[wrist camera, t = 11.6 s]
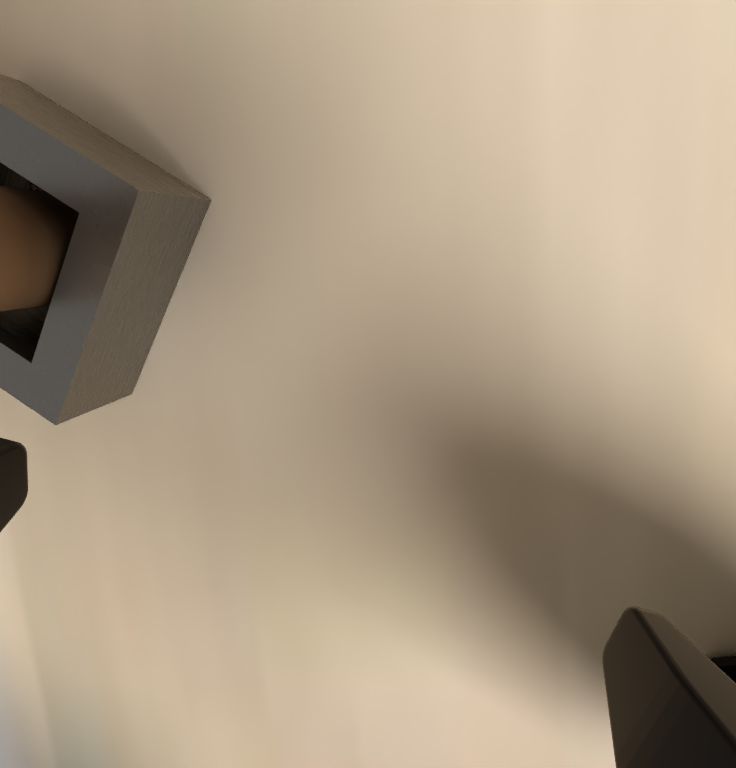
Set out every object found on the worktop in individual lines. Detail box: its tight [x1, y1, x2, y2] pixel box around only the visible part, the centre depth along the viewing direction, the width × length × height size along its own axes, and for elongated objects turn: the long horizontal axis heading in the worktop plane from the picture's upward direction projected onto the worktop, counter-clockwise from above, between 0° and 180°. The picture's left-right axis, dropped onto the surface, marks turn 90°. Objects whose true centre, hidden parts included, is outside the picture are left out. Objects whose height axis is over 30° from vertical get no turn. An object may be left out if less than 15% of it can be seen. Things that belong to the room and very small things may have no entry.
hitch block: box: [0, 75, 211, 425], centre depth 19 cm, size 9×9×4 cm
